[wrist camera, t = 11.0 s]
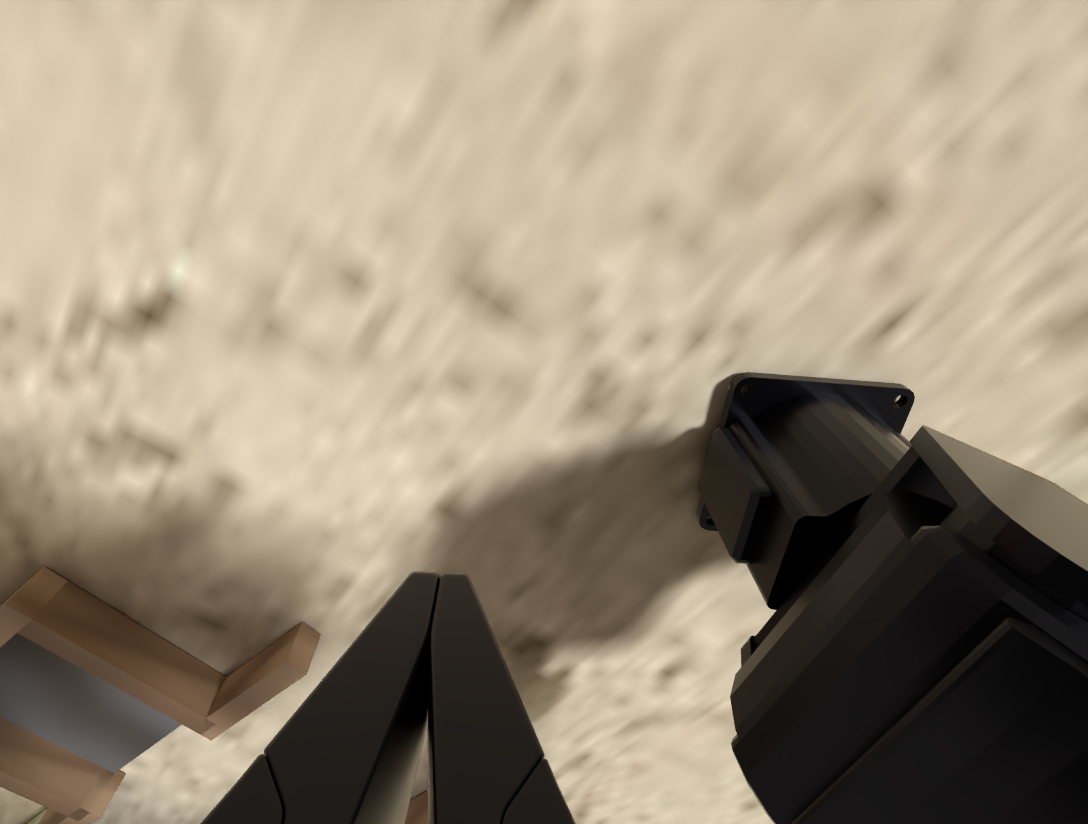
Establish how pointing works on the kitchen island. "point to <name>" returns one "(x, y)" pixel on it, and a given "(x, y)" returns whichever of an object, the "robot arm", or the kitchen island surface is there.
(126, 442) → the kitchen island surface
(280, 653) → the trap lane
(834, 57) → the kitchen island surface
